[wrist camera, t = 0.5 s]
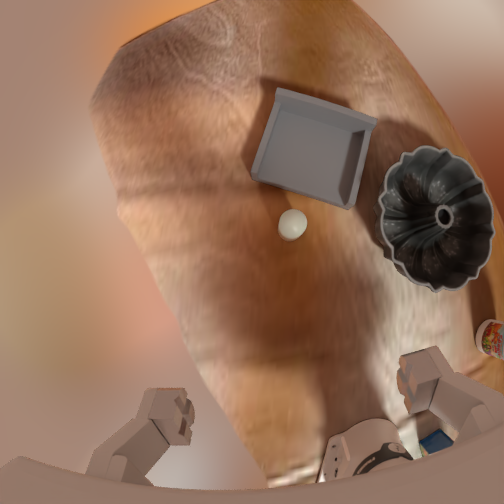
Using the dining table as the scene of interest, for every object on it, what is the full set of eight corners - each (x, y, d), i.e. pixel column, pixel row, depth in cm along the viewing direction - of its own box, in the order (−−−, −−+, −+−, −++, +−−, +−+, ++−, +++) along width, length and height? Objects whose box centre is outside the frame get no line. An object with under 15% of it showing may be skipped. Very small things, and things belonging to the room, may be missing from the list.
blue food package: (440, 427, 54) (496, 479, 29) (447, 459, 53) (495, 510, 28) (417, 442, 54) (468, 500, 29) (426, 472, 53) (469, 528, 28)
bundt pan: (483, 210, 56) (510, 202, 46) (435, 313, 56) (461, 320, 46) (396, 137, 58) (415, 118, 48) (336, 241, 57) (349, 235, 48)
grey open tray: (347, 209, 58) (359, 201, 50) (251, 179, 59) (249, 166, 51) (365, 135, 58) (377, 118, 50) (276, 107, 59) (277, 87, 51)
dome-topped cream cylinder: (297, 244, 58) (302, 240, 49) (274, 237, 58) (275, 231, 50) (304, 221, 58) (310, 213, 49) (281, 214, 58) (283, 205, 50)
